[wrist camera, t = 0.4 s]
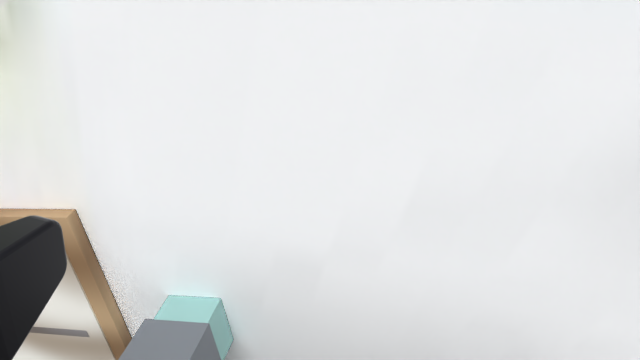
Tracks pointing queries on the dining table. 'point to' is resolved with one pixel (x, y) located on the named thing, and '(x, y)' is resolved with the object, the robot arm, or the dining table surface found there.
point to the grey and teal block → (183, 332)
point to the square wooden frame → (74, 302)
